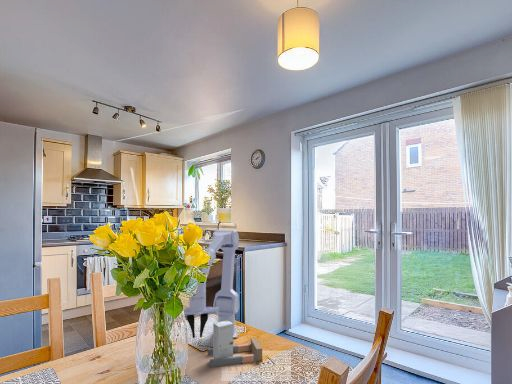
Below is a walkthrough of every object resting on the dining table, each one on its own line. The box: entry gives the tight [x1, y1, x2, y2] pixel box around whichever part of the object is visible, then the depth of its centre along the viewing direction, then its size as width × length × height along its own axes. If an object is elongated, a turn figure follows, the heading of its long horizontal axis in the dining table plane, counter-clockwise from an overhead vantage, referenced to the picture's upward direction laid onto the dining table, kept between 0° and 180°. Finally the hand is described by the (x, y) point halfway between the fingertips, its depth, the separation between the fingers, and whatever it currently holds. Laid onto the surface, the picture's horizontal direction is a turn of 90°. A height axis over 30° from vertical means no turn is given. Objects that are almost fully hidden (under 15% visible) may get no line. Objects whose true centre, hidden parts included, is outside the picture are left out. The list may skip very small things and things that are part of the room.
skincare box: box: [212, 321, 234, 359], centre depth 106 cm, size 6×4×12 cm
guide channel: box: [207, 337, 263, 368], centre depth 107 cm, size 9×18×4 cm, turn 104°
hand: (197, 336), depth 104 cm, fingers closed
